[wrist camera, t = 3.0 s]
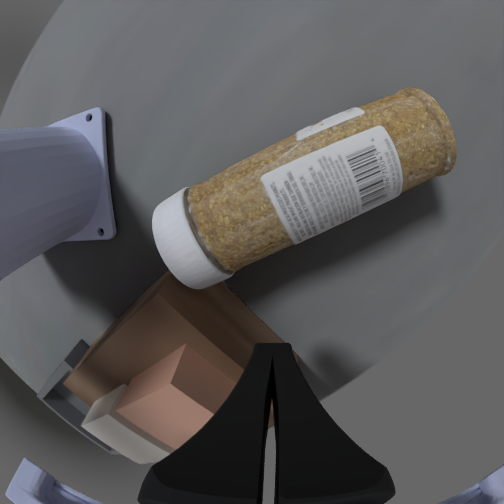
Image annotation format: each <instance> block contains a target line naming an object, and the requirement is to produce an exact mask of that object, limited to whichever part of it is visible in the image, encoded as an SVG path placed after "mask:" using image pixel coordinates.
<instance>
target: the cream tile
mask: <svg viewBox="0 0 504 504" xmlns="http://www.w3.org/2000/svg"><path fill="white" fill-rule="evenodd" d="M127 387H128V386H127V385H126V384H123V385H121V386H119V387H118V388H116V389H114V390H113V391H111V392H110V393H108V394H106V395H105V396H103V397H101V398H100V399H98V400H96V401H95V402H94V404H93V405H92V407H91V409H90V410H89V412H88V414H87V416H86V418H85V419H84V421H83V423H82V425H81V427H83V428H84V429H85V430H87V431H88V432H90V433H91V434H92V435H94V436H95V437H97V438H98V439H99V440H101V441H102V442H104V443H105V444H107V445H108V446H110V447H111V448H113V449H115V450H116V451H118V452H119V453H121V454H123V455H124V456H126V457H128V458H130V459H131V460H133V461H135V462H136V463H138V464H144V463H153V462H159V461H160V460H162V459H163V458H165V457H166V456H168V455H169V454H171V453H172V452H174V451H175V450H176V449H174V448H172V447H170V446H168V445H167V444H165V443H163V442H162V441H160V440H158V439H157V438H155V437H153V436H152V435H150V434H148V433H147V432H145V431H144V430H142V429H141V428H139V427H138V426H136V425H135V424H133V423H132V422H130V421H129V420H127V419H126V418H124V417H123V416H122V415H120V414H119V413H118V412H116V411H115V410H116V408H117V406H118V404H119V402H120V401H121V399H122V397H123V395H124V393H125V391H126V389H127Z"/></svg>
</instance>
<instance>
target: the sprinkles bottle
mask: <svg viewBox="0 0 504 504" xmlns="http://www.w3.org/2000/svg"><path fill="white" fill-rule="evenodd" d="M455 161H456V142H455V138H454V135H453V131H452V127H451V125H450V122H449V120H448V118H447V116H446V114H445V113H444V111H443V110H442V109H441V107H440V106H439V105H438V104H437V102H436V101H435V100H434V99H433V98H432V97H431V96H430V95H429V94H427V93H425V92H424V91H422V90H420V89H417V88H408V87H407V88H403V89H401V90H400V91H399V92H397V93H396V94H393V95H390V96H388V97H385V98H382V99H380V100H377V101H373V102H371V103H369V104H366V105H363V106H360V107H357V108H351V109H348V110H346V111H343V112H341V113H338V114H336V115H333V116H331V117H329V118H326V119H324V120H322V121H320V122H317V123H315V124H313V125H310V126H308V127H306V128H304V129H302V130H299V131H298V132H296V133H295V134H294V135H292V136H290V137H288V138H286V139H284V140H281V141H280V142H278V143H275V144H273V145H271V146H269V147H267V148H265V149H263V150H261V151H260V152H258V153H256V154H254V155H252V156H250V157H248V158H246V159H244V160H242V161H240V162H238V163H236V164H234V165H232V166H230V167H229V168H227V169H225V170H224V171H222V172H220V173H218V174H216V175H215V176H213V177H211V178H210V179H208V180H205V181H204V182H203V183H202V184H195V185H194V186H192V187H186V188H184V189H182V190H180V191H179V192H177V193H175V194H174V195H172V196H171V197H169V198H168V199H166V200H165V201H163V202H162V203H160V204H159V205H158V206H157V207H156V209H155V211H154V213H153V218H152V230H153V235H154V240H155V243H156V246H157V249H158V251H159V253H160V255H161V257H162V259H163V261H164V263H165V264H166V266H167V267H168V268H169V270H170V271H171V272H172V274H173V275H174V276H175V277H176V278H177V279H178V280H179V281H180V282H182V283H183V284H184V285H186V286H188V287H190V288H193V289H204V288H207V287H209V286H212V285H214V284H217V283H219V282H221V281H223V280H226V279H228V278H230V277H231V276H232V275H233V274H234V272H236V271H237V270H240V269H241V268H242V267H244V266H246V265H249V264H250V263H254V262H256V261H257V260H260V259H263V258H265V257H267V256H268V255H271V254H273V253H275V252H278V251H280V250H282V249H284V248H286V247H288V246H291V245H296V244H298V243H301V242H303V241H305V240H307V239H309V238H312V237H314V236H316V235H318V234H320V233H322V232H325V231H327V230H329V229H331V228H333V227H335V226H337V225H339V224H342V223H344V222H346V221H348V220H350V219H352V218H354V217H356V216H358V215H361V214H363V213H365V212H367V211H369V210H371V209H373V208H375V207H377V206H379V205H381V204H383V203H386V202H388V201H390V200H392V199H394V198H396V197H397V196H399V195H400V193H402V192H404V191H406V190H408V189H410V188H412V187H414V186H417V185H419V184H420V183H423V182H425V181H427V180H429V179H431V178H433V177H435V176H441V175H446V174H447V173H449V172H450V171H451V169H452V168H453V166H454V164H455Z"/></svg>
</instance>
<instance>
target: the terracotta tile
mask: <svg viewBox="0 0 504 504" xmlns="http://www.w3.org/2000/svg"><path fill="white" fill-rule="evenodd" d="M236 384H237V383H235V382H234V381H233V380H231V379H230V378H229V377H227V376H226V375H225V374H223V373H222V372H221V371H220V370H218V369H217V368H216V367H215V366H213V365H212V364H211V363H210V362H208V361H207V360H206V359H205V358H203V357H202V356H201V355H200V354H199V353H197V352H196V351H195V350H194V349H193V348H191V347H190V346H189V345H188V344H187V343H186V344H185V345H183V346H181V347H180V348H178V349H177V350H175V351H174V352H172V353H171V354H169V355H168V356H166V357H165V358H163V359H162V360H160V361H159V362H157V363H156V364H154V365H152V366H151V367H149V368H148V369H146V370H145V371H143V372H142V373H140V374H138V375H137V376H135V377H134V378H132V380H131V381H130V383H129V385H128V387H127V389H126V391H125V393H124V395H123V397H122V399H121V401H120V402H119V404H118V406H117V408H116V410H115V411H116V412H118V413H119V414H120V415H122V416H123V417H124V418H126V419H127V420H129V421H130V422H132V423H133V424H135V425H136V426H138V427H139V428H141V429H142V430H144V431H145V432H147V433H148V434H150V435H152V436H153V437H155V438H157V439H158V440H160V441H162V442H163V443H165V444H167V445H168V446H170V447H172V448H174V449H178V448H179V447H180V446H182V445H183V444H184V443H185V442H186V441H188V440H189V439H190V438H191V437H192V436H193V435H195V434H196V433H197V432H198V431H199V430H200V429H201V428H202V427H203V426H204V425H205V424H206V423H207V422H208V421H209V419H210V418H211V417H212V416H213V415H214V414H215V413H216V412H217V410H218V409H219V408H220V407H221V405H222V404H223V403H224V402H225V400H226V399H227V397H228V396H229V394H230V393H231V391H232V390H233V388H234V387H235V385H236Z"/></svg>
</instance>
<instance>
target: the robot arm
mask: <svg viewBox="0 0 504 504" xmlns="http://www.w3.org/2000/svg"><path fill="white" fill-rule="evenodd" d="M91 115H92V120H91V121H90V120H89V118H90V116H91ZM101 228H102V229H103V231H104V234H103V233H102V232H101ZM115 235H116V224H115V218H114V212H113V205H112V198H111V190H110V181H109V171H108V160H107V146H106V125H105V111H104V109H102V108H94V109H91V110H88V111H85V112H82V113H79V114H77V115H74V116H71V117H69V118H66V119H64V120H61V121H59V122H56V123H54V124H51V125H49V126H47V127H31V128H16V129H5V130H0V280H2V279H3V278H5V277H6V276H7V275H9V274H10V273H12V272H13V271H15V270H16V269H18V268H19V267H21V266H23V265H24V264H26V263H27V262H29V261H30V260H32V259H34V258H35V257H37V256H39V255H40V254H42V253H43V252H45V251H47V250H48V249H50V248H52V247H54V246H55V245H57V244H59V243H60V242H66V241H86V240H109V239H112V238H113V237H114V236H115ZM271 403H272V404H273V416H274V427H275V439H276V473H275V497H274V504H384V503H386V502H387V501H388V500H390V499H391V498H392V497H393V496H394V495H395V486H394V483H393V480H392V478H391V476H390V473H389V471H388V469H387V468H386V467H385V466H384V465H382V464H381V463H379V462H378V461H376V460H375V459H374V458H373V457H371V456H370V455H369V454H367V453H366V452H365V451H364V450H363V449H362V448H360V447H359V446H358V445H357V444H356V443H355V442H354V441H353V440H351V438H350V437H349V436H348V435H347V434H346V433H345V432H344V431H343V430H341V428H340V427H339V426H338V425H337V424H336V423H335V422H334V421H333V419H332V418H331V417H330V416H329V414H328V413H327V412H326V410H325V409H324V408H323V407H322V405H321V404H320V402H319V401H318V399H317V398H316V396H315V395H314V393H313V392H312V390H311V388H310V387H309V385H308V383H307V381H306V380H305V378H304V376H303V374H302V372H301V370H300V368H299V366H298V364H297V361H296V359H295V356H294V354H293V351H292V347H291V344H289V343H256V344H255V345H254V349H253V352H252V355H251V357H250V359H249V362H248V364H247V366H246V368H245V370H244V372H243V373H242V375H241V377H240V379H239V381H238V382H237V384H236V385H235V387H234V388H233V390H232V391H231V393H230V394H229V396H228V397H227V399H226V400H225V402H224V403H223V404H222V405H221V407H220V408H219V409H218V410H217V412H216V413H215V414H214V415H213V416H212V417H211V418H210V419H209V421H208V422H207V423H206V424H205V425H204V426H203V427H202V428H201V429H200V430H199V431H198V432H197V433H196V434H195V435H193V436H192V437H191V438H190V439H189V440H188V441H186V442H185V443H184V444H183V445H182V446H180V447H179V448H178V449H176V450H175V451H174V452H172V453H171V454H169V455H168V456H166V457H165V458H163V459H162V460H160V461H159V462H157V463H156V464H154V465H153V466H152V467H151V468H150V470H149V472H148V473H147V475H146V477H145V479H144V481H143V483H142V486H141V489H140V493H139V496H138V502H139V503H140V504H262V500H263V482H264V481H263V480H264V462H265V460H264V459H265V445H266V438H267V432H268V425H269V418H270V410H271ZM6 496H7V497H8V498H9V499H10V500H12V501H13V502H14V503H15V504H103V503H101V502H99V501H96V500H94V499H92V498H90V497H88V496H86V495H84V494H82V493H80V492H78V491H76V490H74V489H72V488H70V487H68V486H66V485H65V484H63V483H61V482H59V481H58V480H56V479H55V478H54V477H53V476H51V475H50V474H49V473H48V472H46V471H45V470H43V469H42V468H41V467H39V466H37V465H36V464H35V463H33V462H32V461H30V460H29V459H27V458H24V459H23V461H22V463H21V464H20V466H19V468H18V470H17V472H16V474H15V476H14V478H13V480H12V482H11V483H10V485H9V487H8V489H7V491H6ZM438 504H504V465H502V466H501V467H499V468H498V469H496V470H495V471H493V472H492V473H490V474H489V475H487V476H486V477H485V478H483V479H482V480H481V481H480V482H479V483H477V484H476V485H474V486H472V487H471V488H468V489H467V490H465V491H463V492H461V493H459V494H457V495H455V496H453V497H451V498H449V499H447V500H445V501H442V502H440V503H438Z"/></svg>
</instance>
